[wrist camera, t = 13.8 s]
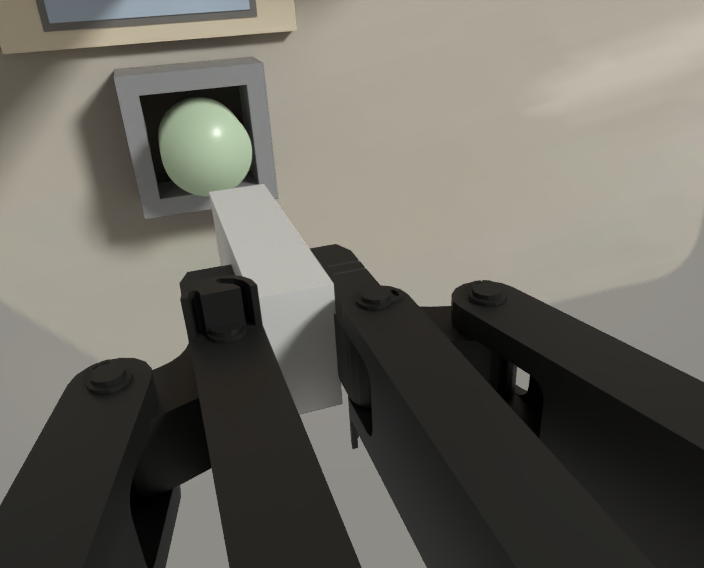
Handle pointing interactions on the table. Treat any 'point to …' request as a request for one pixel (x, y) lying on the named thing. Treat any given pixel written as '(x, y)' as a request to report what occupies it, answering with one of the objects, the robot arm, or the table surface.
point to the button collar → (185, 78)
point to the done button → (203, 146)
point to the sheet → (134, 21)
